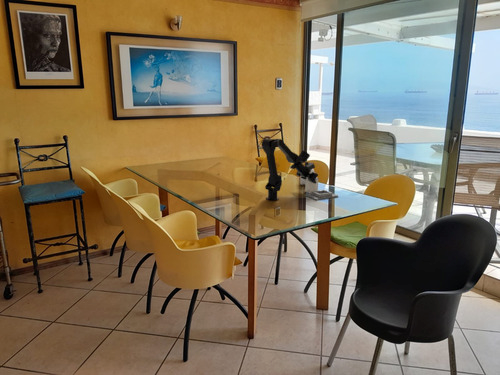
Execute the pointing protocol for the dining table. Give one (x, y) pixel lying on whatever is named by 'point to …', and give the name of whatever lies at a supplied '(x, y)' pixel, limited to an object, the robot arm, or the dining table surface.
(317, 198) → the socket board
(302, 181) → the photo printer
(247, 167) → the dining table surface
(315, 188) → the plug
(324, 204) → the dining table surface
